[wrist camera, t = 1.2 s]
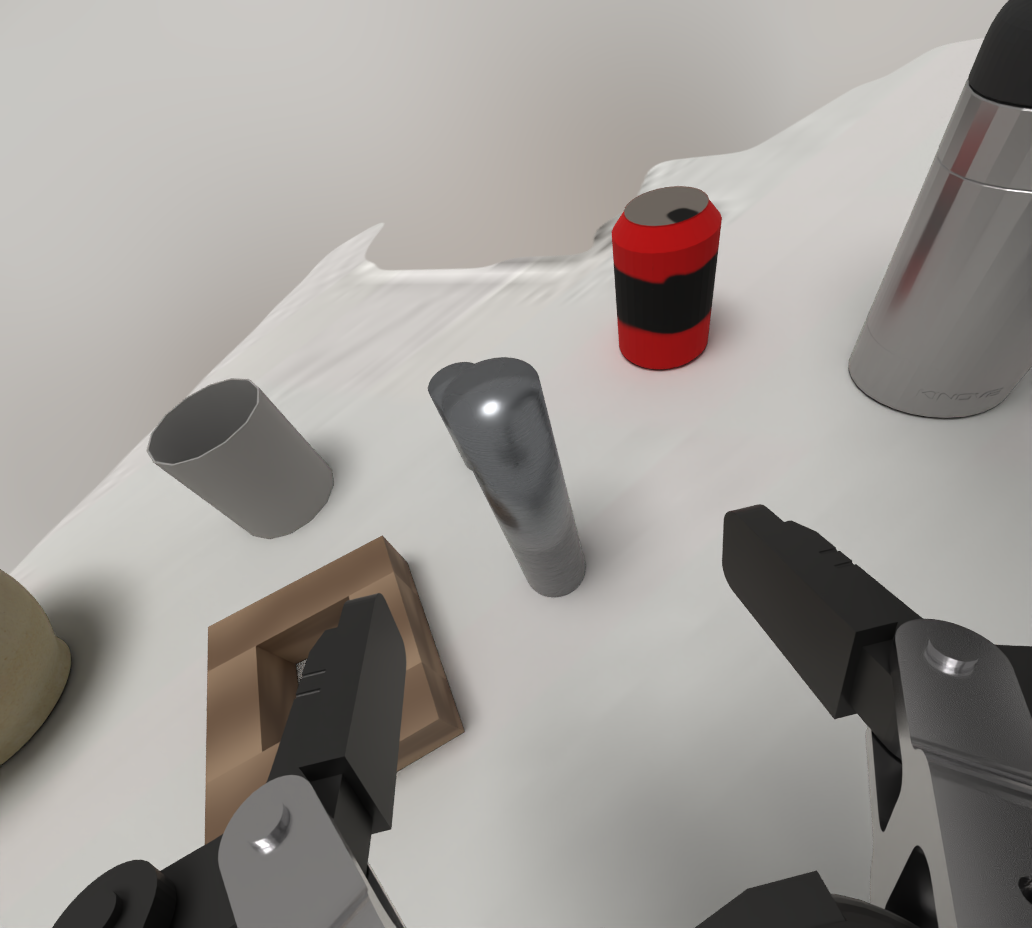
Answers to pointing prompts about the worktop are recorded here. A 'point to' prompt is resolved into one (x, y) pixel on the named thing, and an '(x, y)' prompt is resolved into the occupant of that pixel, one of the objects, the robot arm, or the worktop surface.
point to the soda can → (665, 275)
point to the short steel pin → (437, 390)
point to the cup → (243, 458)
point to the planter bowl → (26, 666)
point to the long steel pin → (518, 468)
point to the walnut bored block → (273, 677)
